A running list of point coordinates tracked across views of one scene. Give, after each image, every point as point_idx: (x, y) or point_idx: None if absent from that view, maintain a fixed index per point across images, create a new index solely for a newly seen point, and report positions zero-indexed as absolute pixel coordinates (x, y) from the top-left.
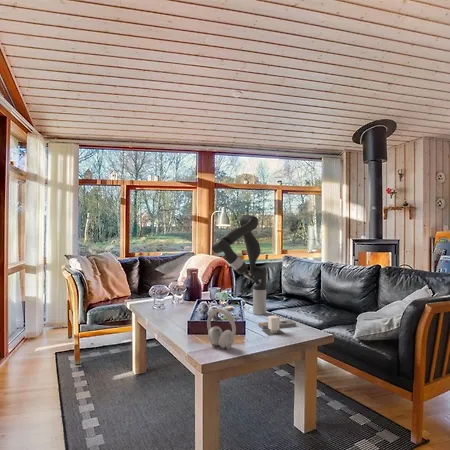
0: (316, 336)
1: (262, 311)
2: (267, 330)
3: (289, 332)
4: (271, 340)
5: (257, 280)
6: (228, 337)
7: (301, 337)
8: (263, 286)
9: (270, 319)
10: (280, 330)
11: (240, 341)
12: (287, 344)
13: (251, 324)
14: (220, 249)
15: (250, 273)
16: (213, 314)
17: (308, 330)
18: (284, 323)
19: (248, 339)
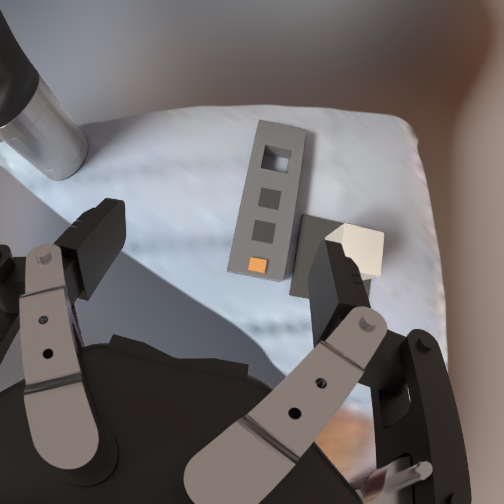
0: (409, 156)
1: (81, 148)
2: (305, 272)
3: (349, 200)
4: (397, 319)
5: (348, 281)
6: None
7: (406, 202)
8: (29, 76)
9: (364, 275)
10: (328, 223)
11: (355, 427)
12: (441, 290)
13: (177, 278)
14: None
15: (443, 490)
16: None
17: (351, 130)
18: (292, 170)
19: (353, 394)
